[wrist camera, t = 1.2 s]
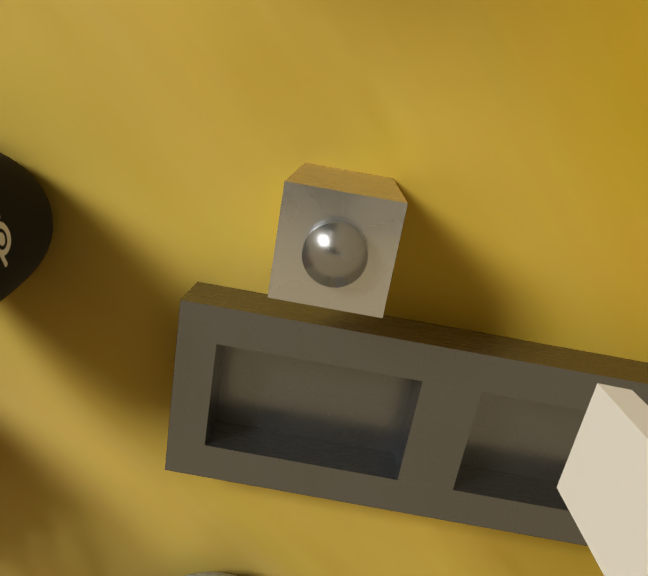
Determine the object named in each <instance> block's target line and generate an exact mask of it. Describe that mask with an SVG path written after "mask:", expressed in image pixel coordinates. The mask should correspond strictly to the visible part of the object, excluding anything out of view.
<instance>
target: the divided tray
mask: <svg viewBox="0 0 648 576" xmlns="http://www.w3.org/2000/svg"><path fill="white" fill-rule="evenodd" d="M597 383H599V384H604V385H609V386H614V387H619V388H624V389H630V390H633V391H634V392H635V393H636V394H637V395H638V396H639V397H640V398H641V399H642V400H643V401H644V402H645V403H646V404H647V405H648V363H646V362H640V361H634V360H629V359H623V358H618V357H612V356H607V355H601V354H595V353H590V352H584V351H579V350H573V349H568V348H562V347H557V346H551V345H545V344H540V343H534V342H529V341H523V340H518V339H512V338H507V337H501V336H495V335H490V334H484V333H479V332H473V331H468V330H462V329H457V328H451V327H445V326H440V325H434V324H429V323H423V322H418V321H412V320H407V319H401V318H395V317H390V316H384V315H383V318H379V317H373V316H368V315H362V314H356V313H351V312H345V311H340V310H334V309H329V308H323V307H318V306H312V305H306V304H301V303H295V302H290V301H284V300H279V299H273V298H268V294H262V293H256V292H251V291H245V290H240V289H234V288H229V287H223V286H218V285H212V284H206V283H201V282H197V283H196V284H195V285H194V286H193V287H192V288H191V289H190V290H189V292H188V293H187V294H186V295H185V296H184V297H183V298H182V299H181V300H180V311H179V322H178V333H177V344H176V355H175V365H174V376H173V387H172V398H171V409H170V420H169V431H168V442H167V453H166V464H165V470H169V471H175V472H180V473H186V474H192V475H197V476H203V477H208V478H214V479H219V480H225V481H230V482H236V483H241V484H247V485H252V486H258V487H264V488H269V489H275V490H280V491H286V492H291V493H297V494H302V495H308V496H313V497H319V498H325V499H330V500H336V501H341V502H347V503H352V504H358V505H363V506H369V507H374V508H380V509H386V510H391V511H397V512H402V513H408V514H413V515H419V516H424V517H430V518H435V519H441V520H446V521H452V522H458V523H463V524H469V525H474V526H480V527H485V528H491V529H496V530H502V531H507V532H513V533H519V534H524V535H530V536H535V537H541V538H546V539H552V540H557V541H563V542H568V543H574V544H580V545H585V546H588V545H587V543H586V541H585V539H584V537H583V535H582V534H581V532H580V530H579V528H578V526H577V524H576V523H575V521H574V519H573V517H572V515H571V513H570V511H569V510H568V508H567V506H566V504H565V502H564V500H563V498H562V497H561V495H560V493H559V491H558V489H557V485H558V483H559V480H560V477H561V475H562V472H563V470H564V467H565V465H566V462H567V460H568V457H569V454H570V452H571V449H572V447H573V444H574V442H575V439H576V437H577V434H578V431H579V429H580V426H581V424H582V421H583V419H584V416H585V414H586V411H587V408H588V406H589V403H590V401H591V398H592V396H593V393H594V390H595V388H596V385H597Z"/></svg>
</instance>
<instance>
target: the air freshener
mask: <svg viewBox="0 0 648 576" xmlns="http://www.w3.org/2000/svg"><path fill="white" fill-rule="evenodd" d="M185 576H237V575H233V574H228V573H222V572H201V573H193V574H189V575H185Z"/></svg>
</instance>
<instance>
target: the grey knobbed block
mask: <svg viewBox="0 0 648 576" xmlns="http://www.w3.org/2000/svg"><path fill="white" fill-rule="evenodd" d="M407 205H408V203H407V201H406V199H405V198H404V196H403V194H402V193H401V191H400V189H399V187H398V186H397V184H396V182H395V181H394V179H393V178H388V177H382V176H377V175H371V174H366V173H360V172H354V171H349V170H343V169H338V168H332V167H327V166H321V165H315V164H310V163H304V164H303V165H302V166H301V167H300V168H298V169H297V170H296V171H295V172H294V173H293V174H292V175H291V176H290V177H289V178H288V179H286V180H285V182H284V189H283V196H282V203H281V210H280V217H279V223H278V230H277V237H276V244H275V251H274V258H273V265H272V272H271V278H270V285H269V292H268V298H273V299H279V300H284V301H290V302H295V303H301V304H306V305H312V306H318V307H323V308H329V309H334V310H340V311H345V312H351V313H356V314H362V315H368V316H373V317H379V318H383V314H384V309H385V305H386V300H387V296H388V291H389V287H390V282H391V278H392V273H393V268H394V264H395V259H396V255H397V250H398V246H399V241H400V237H401V232H402V228H403V223H404V218H405V214H406V209H407Z"/></svg>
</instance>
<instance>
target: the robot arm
mask: <svg viewBox="0 0 648 576" xmlns="http://www.w3.org/2000/svg"><path fill="white" fill-rule="evenodd" d="M557 489H558V491H559V493H560V495H561V497H562V498H563V500H564V502H565V504H566V506H567V508H568V510H569V511H570V513H571V515H572V517H573V519H574V521H575V523H576V524H577V526H578V528H579V530H580V532H581V534H582V535H583V537H584V539H585V541H586V543H587V545H588V547H589V548H590V550H591V552H592V554H593V556H594V558H595V560H596V561H597V563H598V565H599V567H600V569H601V571H602V573H603V574H604V576H648V405H647V404H646V403H645V402H644V401H643V400H642V399H641V398H640V397H639V396H638V395H637V394H636V393H635V392H634V391H633V390H630V389H624V388H619V387H614V386H609V385H604V384H599V383H597V385H596V388H595V390H594V393H593V396H592V398H591V401H590V403H589V406H588V408H587V411H586V414H585V416H584V419H583V421H582V424H581V426H580V429H579V431H578V434H577V437H576V439H575V442H574V444H573V447H572V449H571V452H570V454H569V457H568V460H567V462H566V465H565V467H564V470H563V472H562V475H561V477H560V480H559V483H558V485H557Z"/></svg>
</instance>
